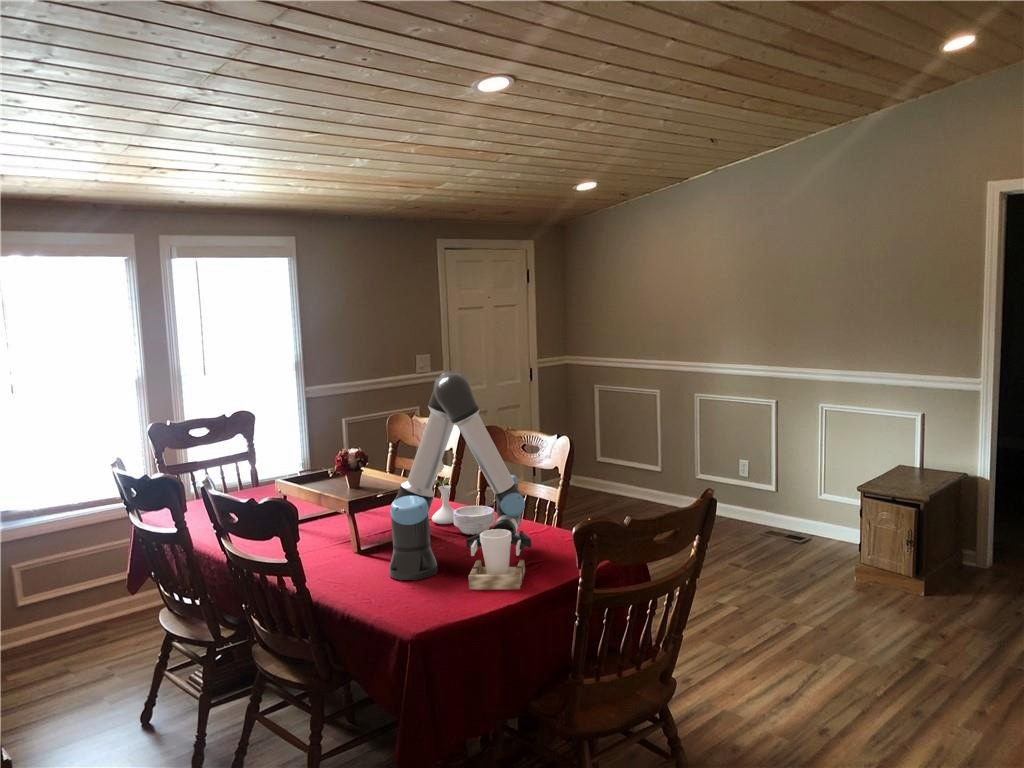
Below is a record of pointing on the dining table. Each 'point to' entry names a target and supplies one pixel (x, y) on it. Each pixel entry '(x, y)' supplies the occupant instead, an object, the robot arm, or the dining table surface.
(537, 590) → the dining table surface
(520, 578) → the cradle
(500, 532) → the foam cup
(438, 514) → the flower in vase
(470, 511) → the paper bowls
